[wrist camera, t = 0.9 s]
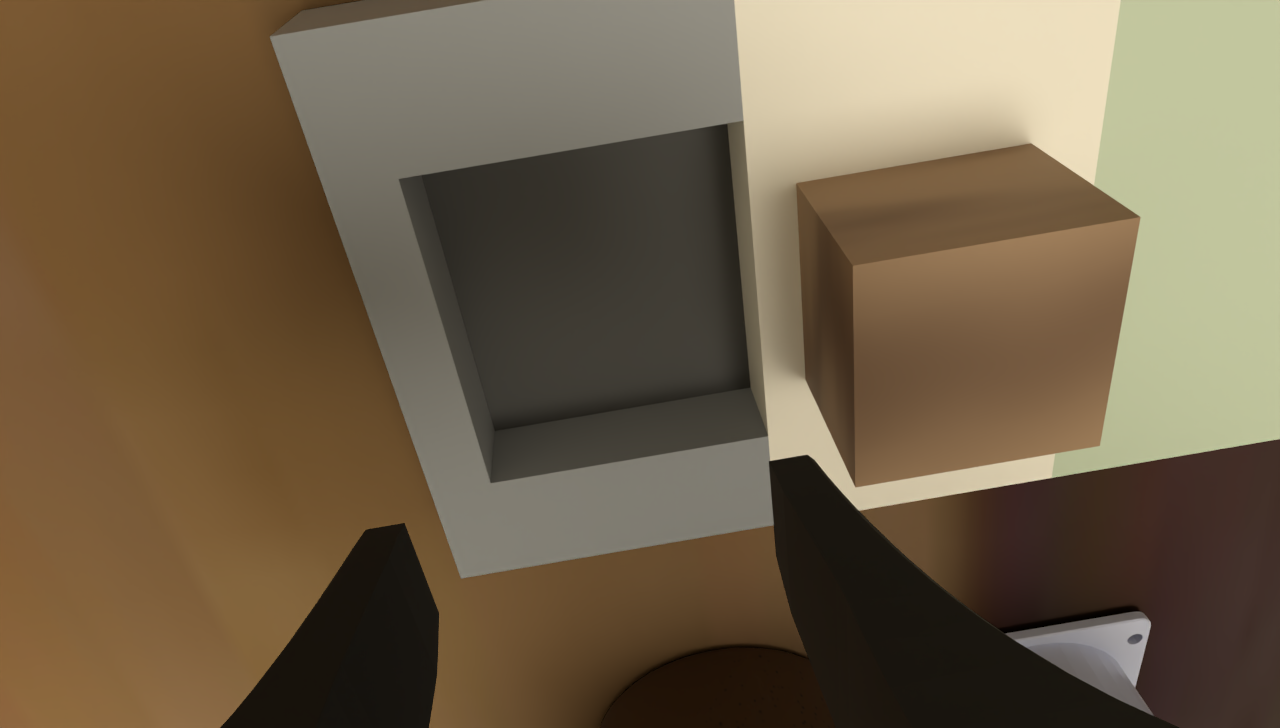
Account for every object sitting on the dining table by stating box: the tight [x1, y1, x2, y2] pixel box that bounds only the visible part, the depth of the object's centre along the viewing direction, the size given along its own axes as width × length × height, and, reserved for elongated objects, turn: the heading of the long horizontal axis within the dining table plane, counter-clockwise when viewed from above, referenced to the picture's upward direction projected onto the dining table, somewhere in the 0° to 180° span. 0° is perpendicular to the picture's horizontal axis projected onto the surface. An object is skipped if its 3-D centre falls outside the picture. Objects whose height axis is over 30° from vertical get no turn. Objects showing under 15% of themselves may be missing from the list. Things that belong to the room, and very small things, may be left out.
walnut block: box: [796, 143, 1141, 488], centre depth 18 cm, size 5×5×4 cm
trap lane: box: [270, 0, 1280, 578], centre depth 21 cm, size 14×32×2 cm, turn 98°
